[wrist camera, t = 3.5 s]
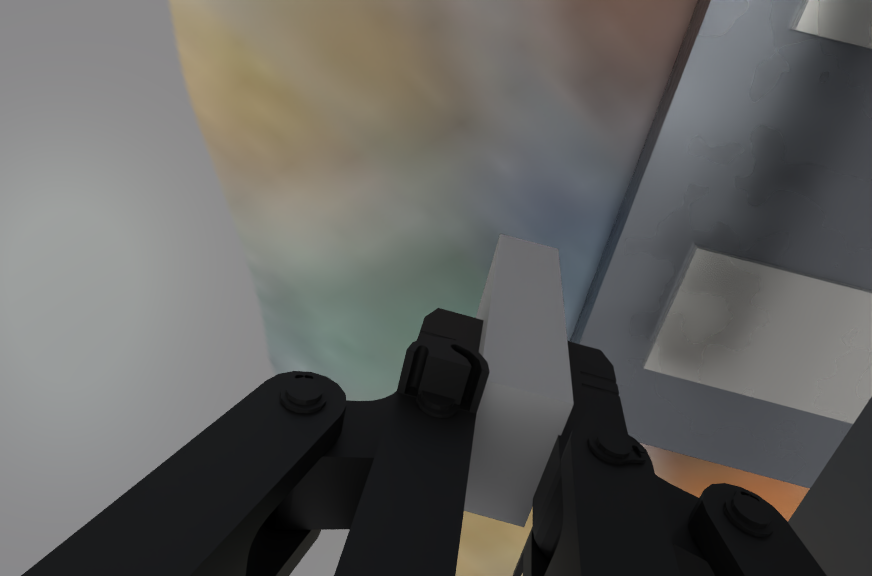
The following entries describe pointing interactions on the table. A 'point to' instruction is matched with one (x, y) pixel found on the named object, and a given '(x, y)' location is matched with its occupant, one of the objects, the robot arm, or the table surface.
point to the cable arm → (841, 506)
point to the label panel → (748, 243)
